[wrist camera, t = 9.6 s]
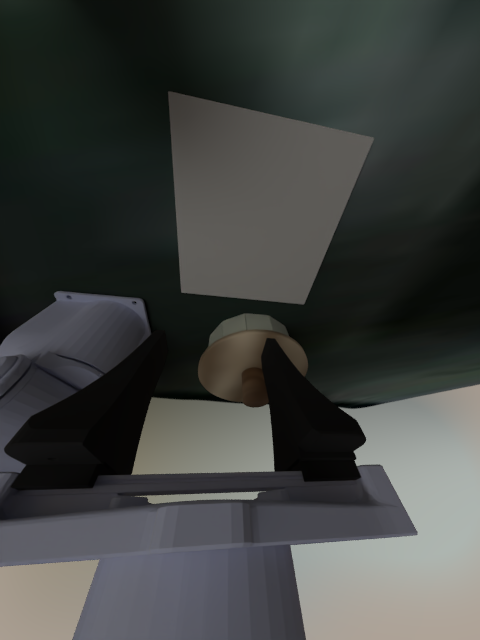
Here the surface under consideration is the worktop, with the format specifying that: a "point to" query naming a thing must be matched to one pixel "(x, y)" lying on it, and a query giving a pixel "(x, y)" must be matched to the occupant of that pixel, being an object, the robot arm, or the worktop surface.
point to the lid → (244, 365)
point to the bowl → (246, 325)
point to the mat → (256, 198)
